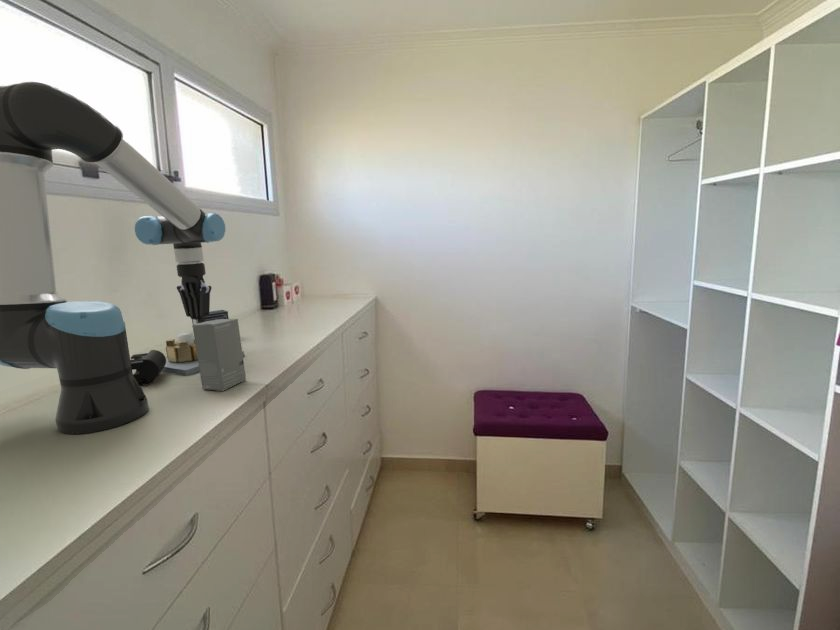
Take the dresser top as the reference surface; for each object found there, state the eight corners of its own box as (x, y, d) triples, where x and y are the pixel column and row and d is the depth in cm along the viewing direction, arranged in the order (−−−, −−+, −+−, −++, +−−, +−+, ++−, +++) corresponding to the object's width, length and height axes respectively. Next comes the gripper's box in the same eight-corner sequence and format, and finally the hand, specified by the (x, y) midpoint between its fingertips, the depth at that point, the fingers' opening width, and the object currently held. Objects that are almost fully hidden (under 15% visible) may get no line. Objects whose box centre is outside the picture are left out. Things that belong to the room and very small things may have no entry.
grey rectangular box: (223, 392, 101) (214, 324, 98) (199, 389, 103) (189, 324, 100) (248, 380, 109) (240, 317, 106) (225, 378, 111) (217, 316, 108)
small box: (226, 337, 157) (223, 308, 155) (232, 340, 152) (228, 310, 150) (194, 343, 150) (190, 313, 148) (199, 346, 145) (195, 315, 144)
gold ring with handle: (184, 363, 119) (181, 344, 118) (160, 360, 124) (157, 341, 123) (232, 348, 133) (230, 331, 132) (209, 345, 138) (207, 329, 137)
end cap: (161, 383, 109) (156, 357, 108) (128, 388, 107) (123, 361, 106) (168, 372, 118) (164, 348, 117) (138, 376, 116) (133, 351, 115)
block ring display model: (186, 375, 114) (181, 344, 113) (143, 368, 123) (138, 339, 121) (244, 356, 131) (241, 328, 129) (202, 351, 139) (199, 324, 138)
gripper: (215, 261, 132) (225, 337, 136) (187, 262, 138) (197, 335, 142) (193, 263, 125) (204, 343, 130) (164, 264, 131) (176, 340, 136)
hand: (201, 339), depth 136 cm, fingers closed
